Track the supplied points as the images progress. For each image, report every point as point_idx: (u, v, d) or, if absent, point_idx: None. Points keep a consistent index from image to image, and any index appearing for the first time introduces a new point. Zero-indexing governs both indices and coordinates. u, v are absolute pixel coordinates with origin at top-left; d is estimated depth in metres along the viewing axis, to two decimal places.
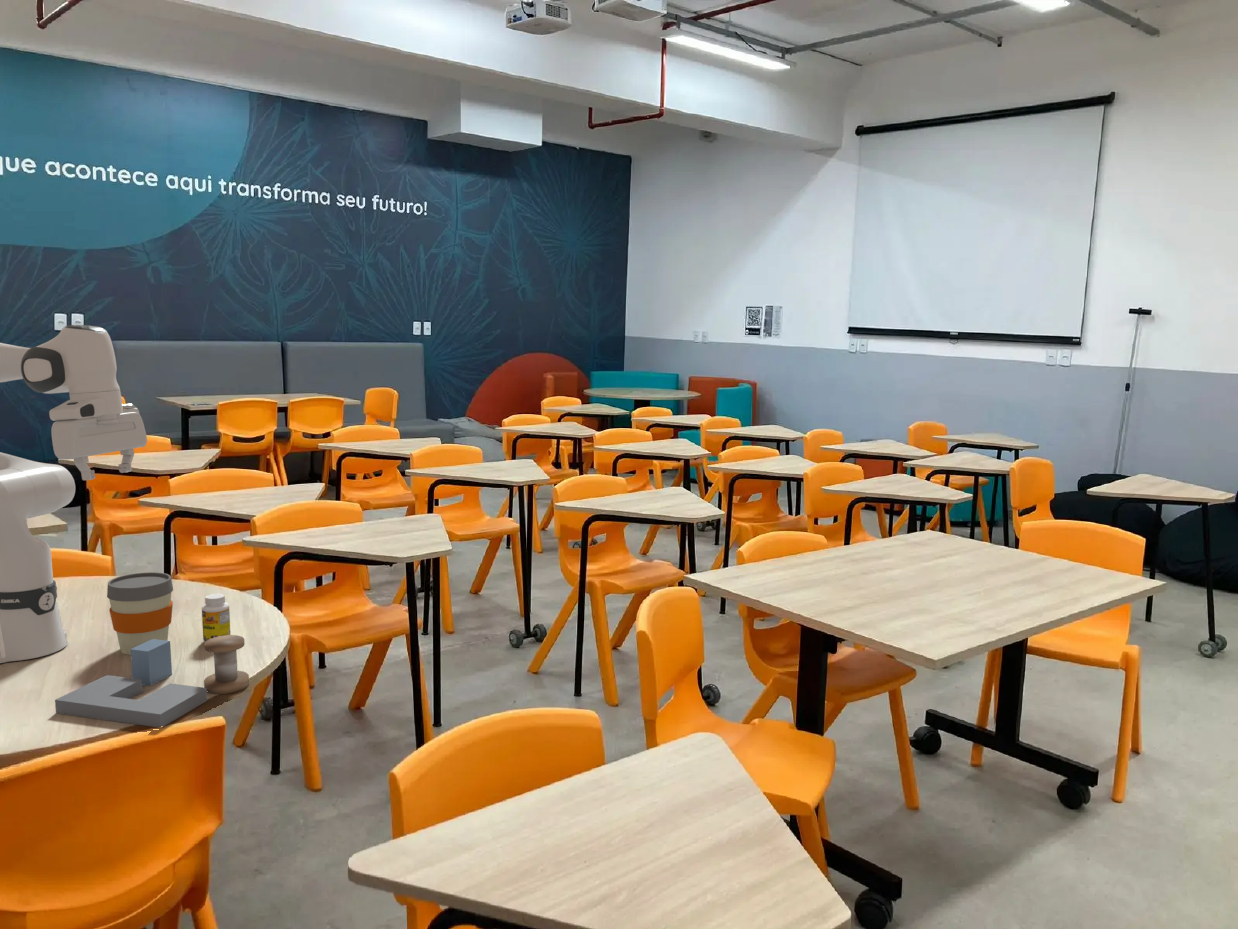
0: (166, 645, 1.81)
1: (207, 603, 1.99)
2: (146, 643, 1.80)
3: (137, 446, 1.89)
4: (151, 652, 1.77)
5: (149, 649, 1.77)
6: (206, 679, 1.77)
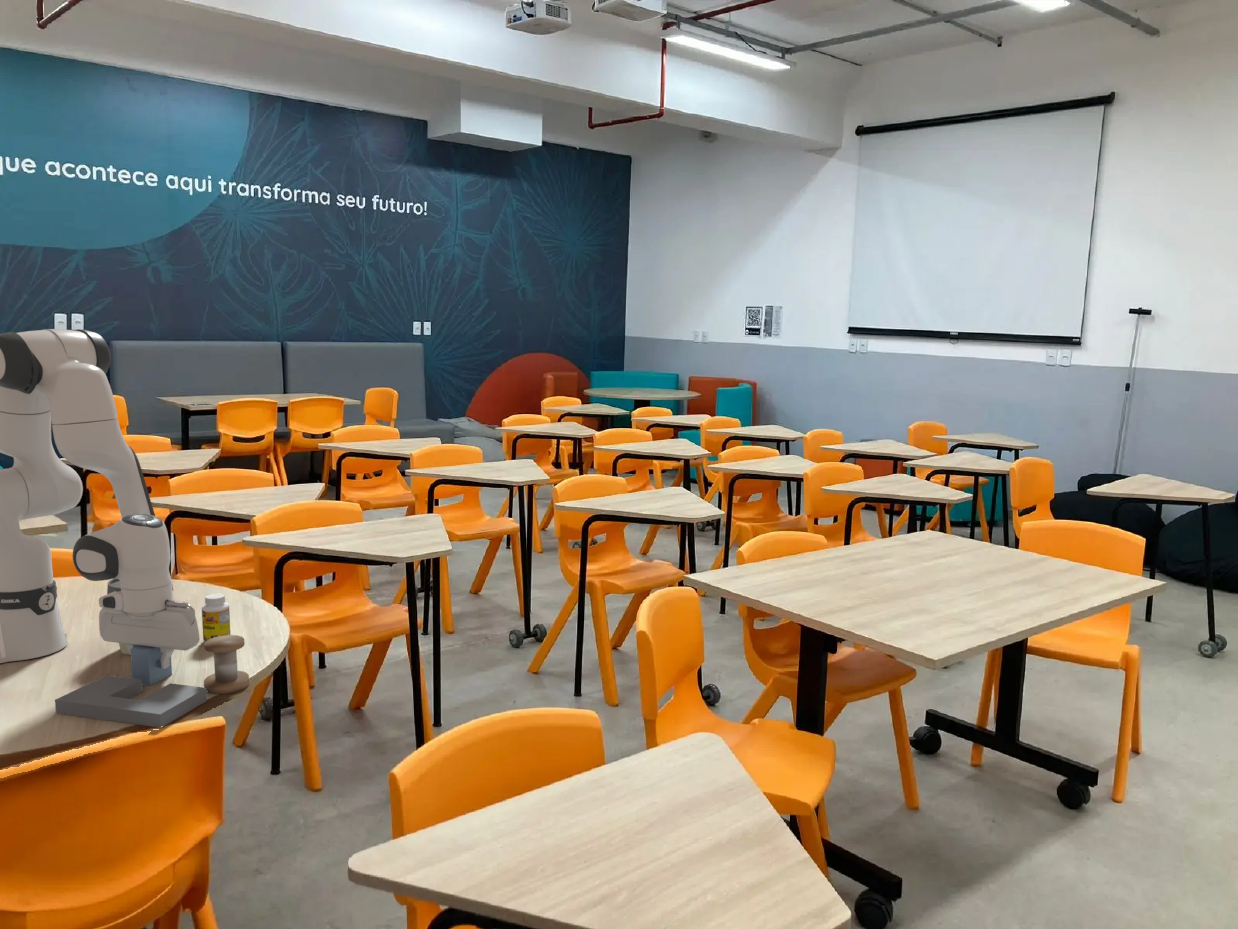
0: None
1: (207, 603, 1.99)
2: None
3: (174, 648, 1.76)
4: (151, 652, 1.77)
5: (149, 648, 1.77)
6: (206, 679, 1.77)
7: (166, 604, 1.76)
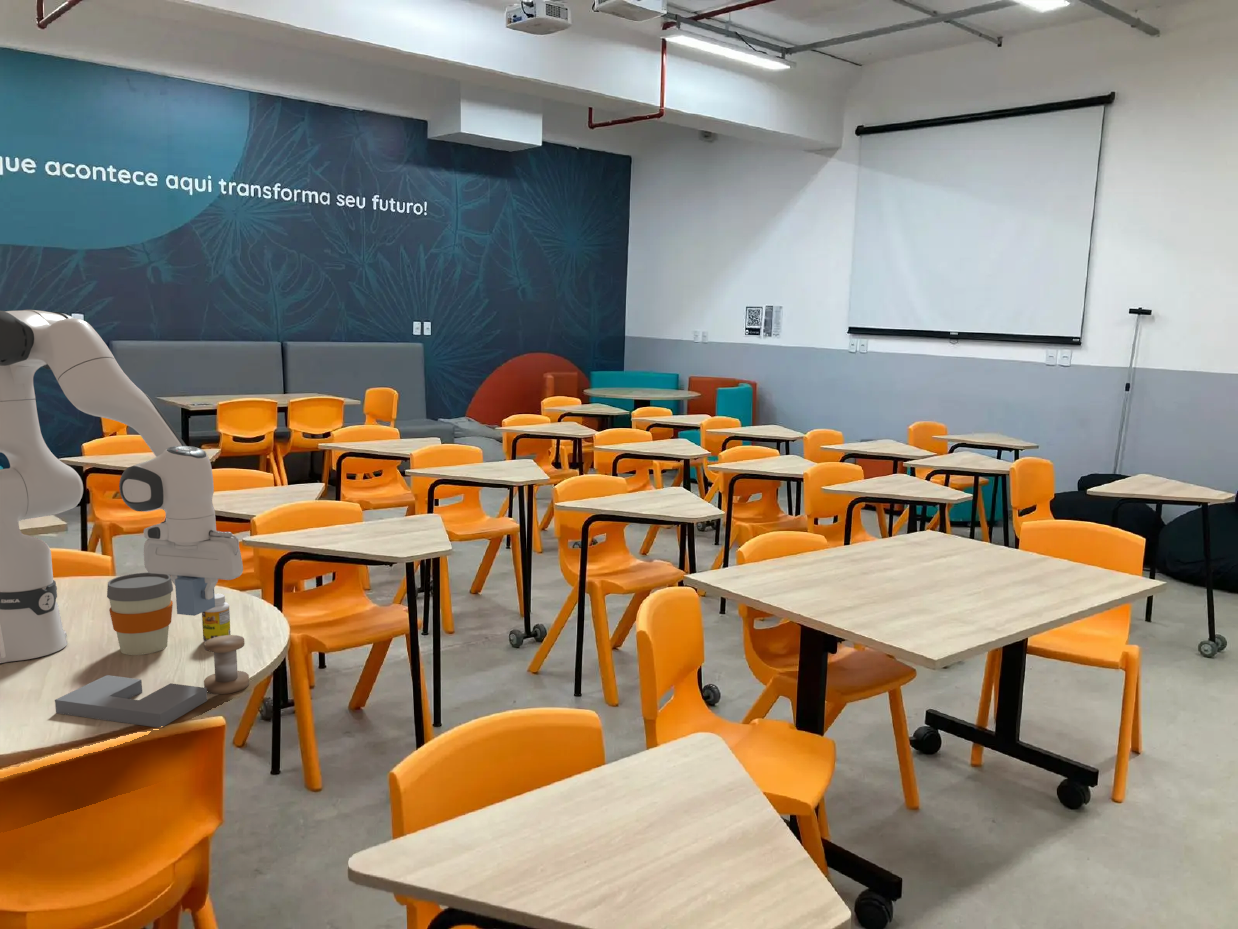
0: None
1: None
2: None
3: (219, 578, 1.78)
4: (195, 582, 1.78)
5: (193, 579, 1.79)
6: (206, 679, 1.77)
7: (210, 534, 1.78)
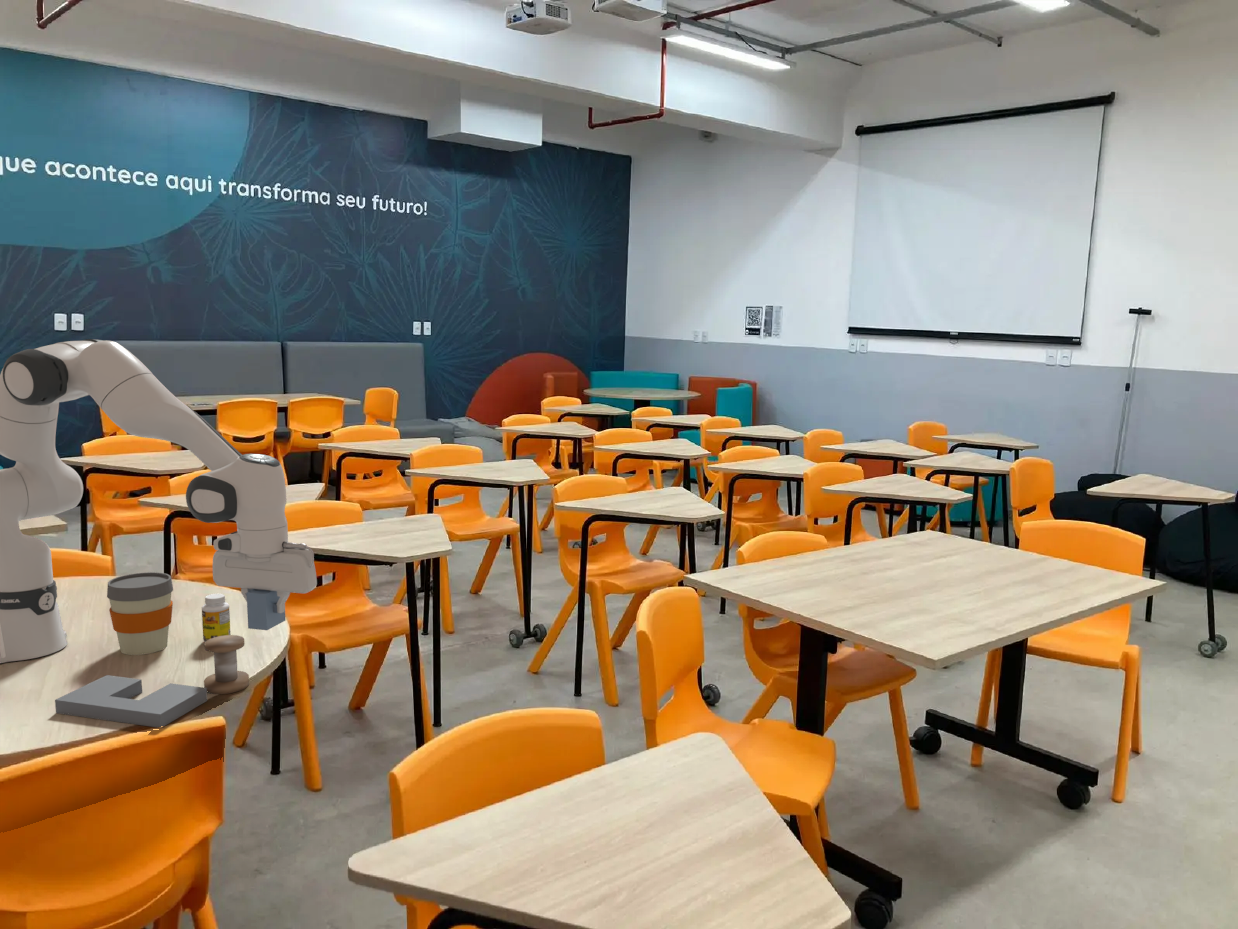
0: None
1: (207, 603, 1.99)
2: None
3: (292, 591, 1.71)
4: (268, 595, 1.72)
5: (266, 592, 1.72)
6: (206, 679, 1.77)
7: (283, 546, 1.71)
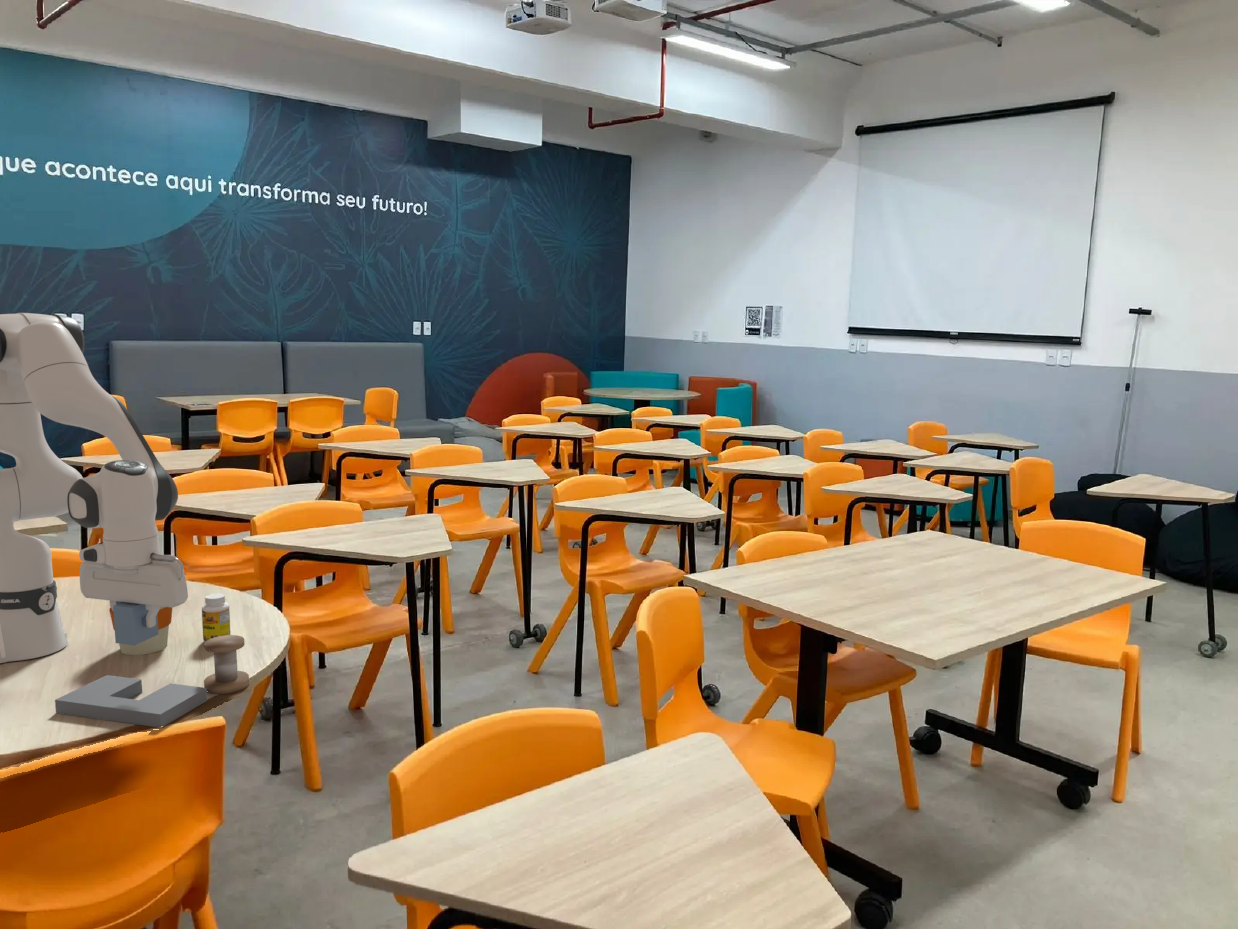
0: None
1: (207, 603, 1.99)
2: None
3: (161, 605, 1.63)
4: (135, 609, 1.64)
5: (133, 605, 1.64)
6: (206, 679, 1.77)
7: (152, 557, 1.63)
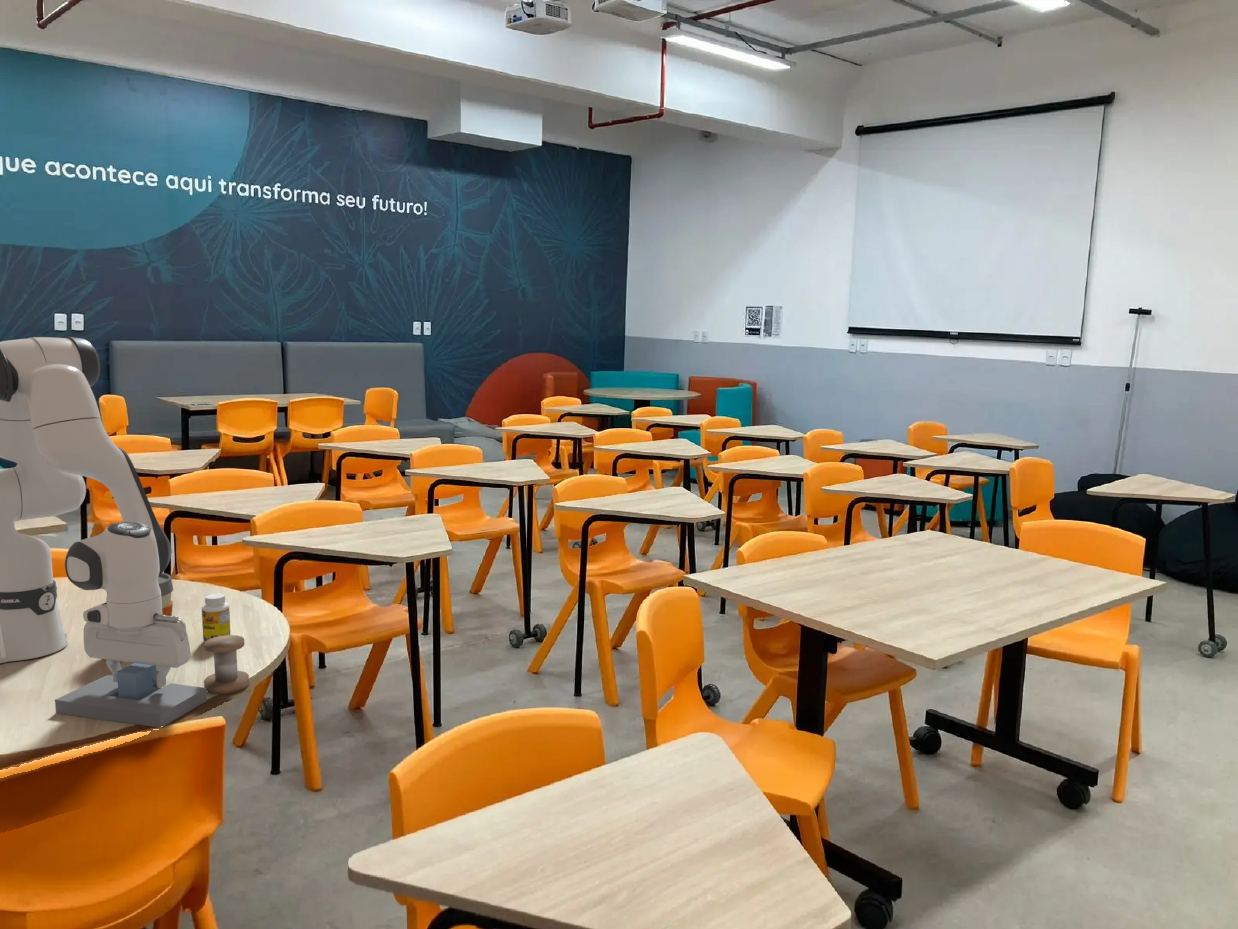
0: (155, 666, 1.70)
1: (207, 603, 1.99)
2: (134, 664, 1.69)
3: (164, 665, 1.65)
4: (139, 675, 1.66)
5: (137, 671, 1.66)
6: (206, 679, 1.77)
7: (155, 618, 1.65)
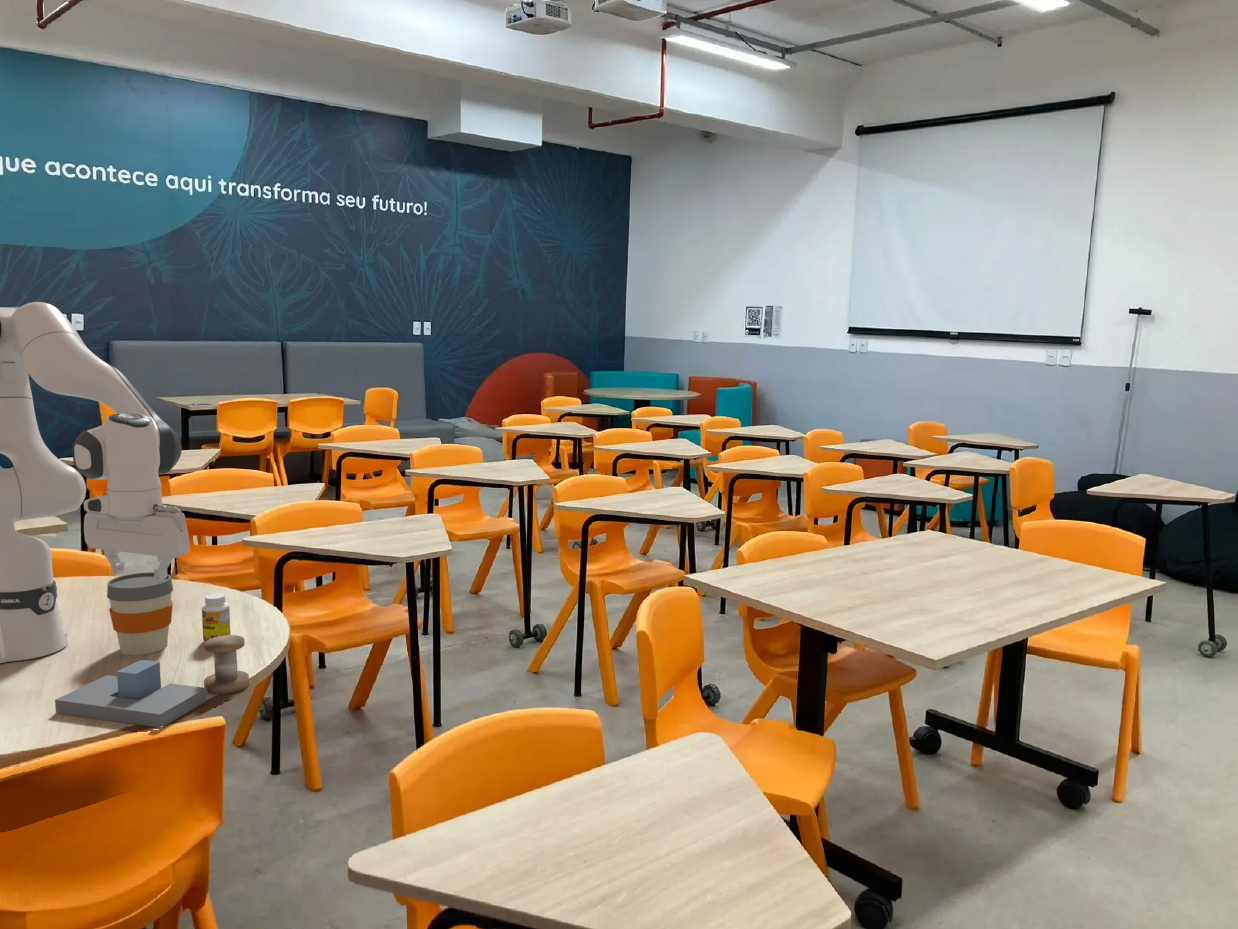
0: (155, 666, 1.70)
1: (207, 603, 1.99)
2: (134, 664, 1.69)
3: (163, 555, 1.66)
4: (139, 675, 1.66)
5: (137, 671, 1.66)
6: (206, 679, 1.77)
7: (155, 509, 1.66)
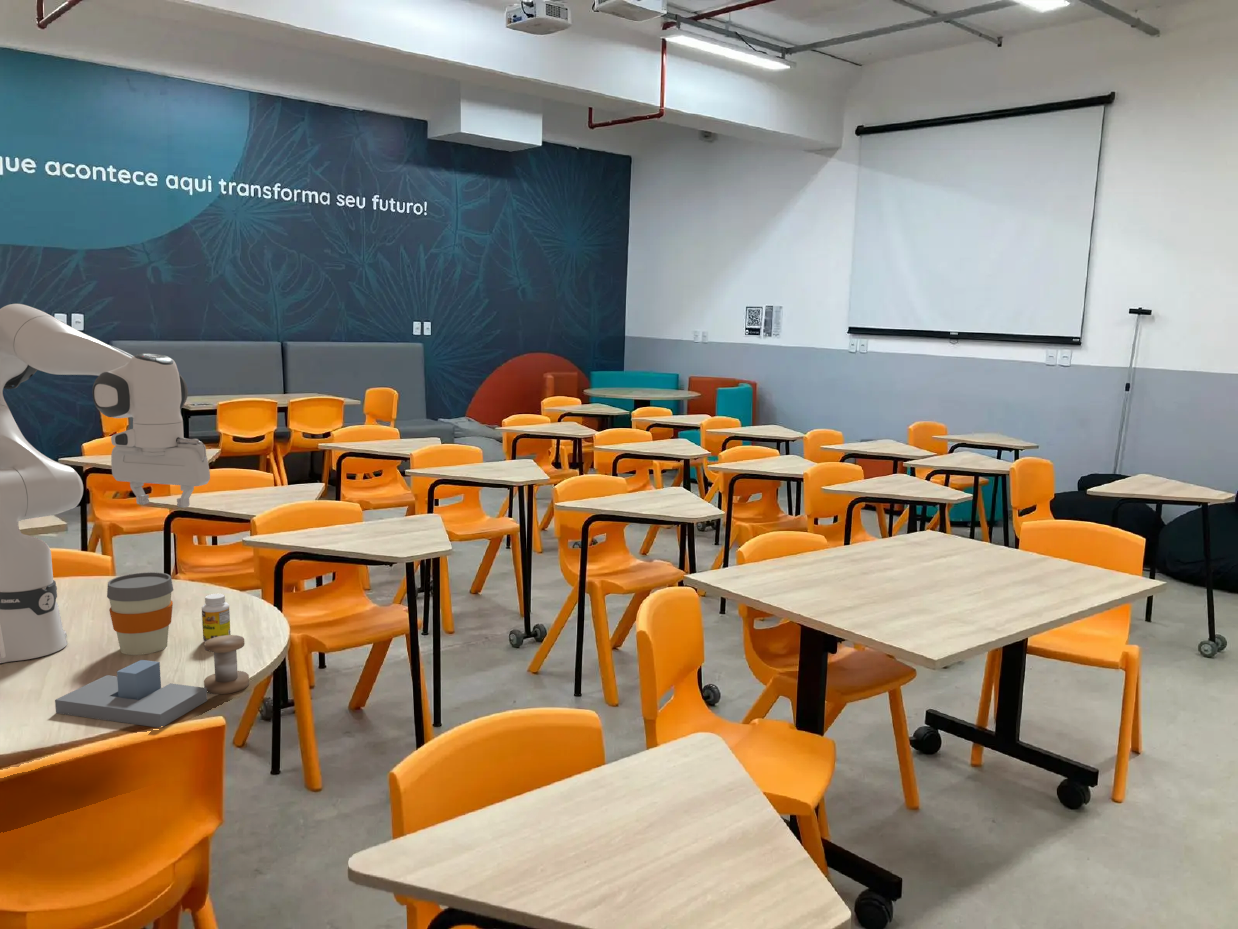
0: (155, 666, 1.70)
1: (207, 603, 1.99)
2: (134, 664, 1.69)
3: (185, 484, 1.79)
4: (139, 675, 1.66)
5: (137, 671, 1.66)
6: (206, 679, 1.77)
7: (177, 441, 1.80)
